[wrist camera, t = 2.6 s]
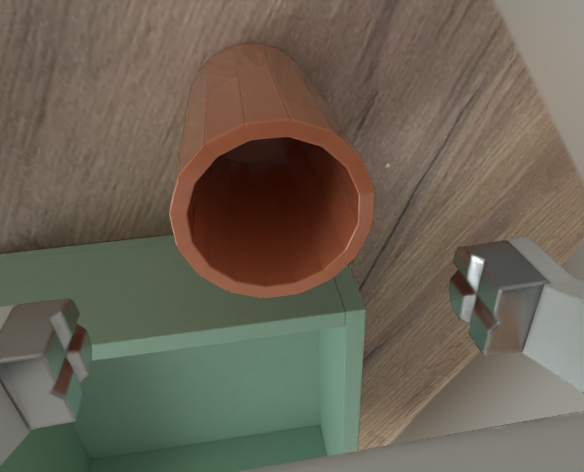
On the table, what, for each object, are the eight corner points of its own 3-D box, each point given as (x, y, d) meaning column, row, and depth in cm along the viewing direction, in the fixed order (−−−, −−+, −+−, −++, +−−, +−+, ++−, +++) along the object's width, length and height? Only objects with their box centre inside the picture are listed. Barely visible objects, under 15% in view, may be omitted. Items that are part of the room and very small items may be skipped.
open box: (329, 216, 23) (366, 309, 17) (329, 419, 32) (353, 522, 26) (-21, 255, 21) (-106, 371, 16) (84, 456, 31) (55, 574, 25)
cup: (313, 37, 18) (380, 110, 11) (315, 161, 21) (370, 285, 14) (177, 48, 18) (149, 131, 10) (199, 173, 21) (189, 308, 13)
